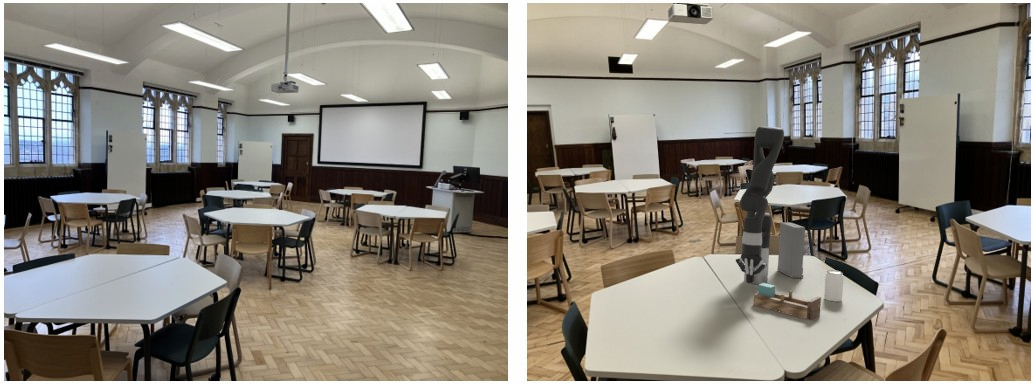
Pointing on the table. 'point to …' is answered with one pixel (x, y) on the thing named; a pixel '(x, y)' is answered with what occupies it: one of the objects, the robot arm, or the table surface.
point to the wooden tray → (790, 305)
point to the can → (833, 286)
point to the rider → (766, 290)
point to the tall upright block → (791, 249)
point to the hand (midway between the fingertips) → (750, 282)
